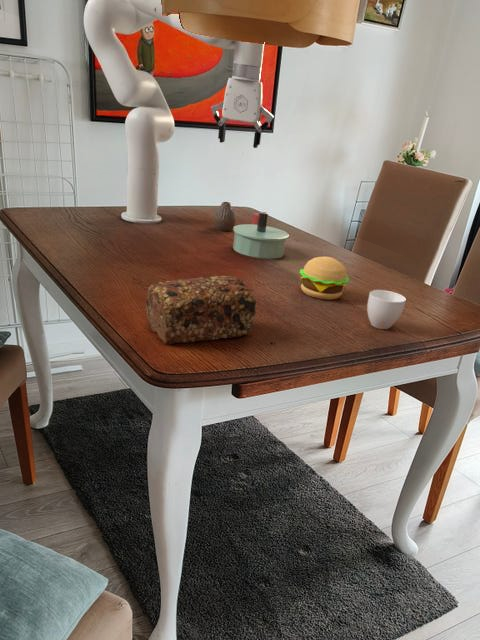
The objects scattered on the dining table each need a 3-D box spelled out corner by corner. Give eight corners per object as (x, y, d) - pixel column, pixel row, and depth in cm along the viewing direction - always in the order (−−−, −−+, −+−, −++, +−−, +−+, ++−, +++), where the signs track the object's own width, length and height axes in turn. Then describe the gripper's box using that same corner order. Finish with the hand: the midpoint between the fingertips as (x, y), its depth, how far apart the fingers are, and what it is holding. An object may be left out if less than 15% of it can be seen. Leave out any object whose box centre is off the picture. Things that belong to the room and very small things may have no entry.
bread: (229, 318, 120) (235, 270, 115) (254, 338, 112) (261, 288, 107) (143, 324, 111) (145, 273, 106) (163, 347, 103) (167, 292, 98)
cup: (374, 332, 123) (382, 302, 119) (351, 315, 130) (357, 286, 127) (404, 332, 125) (413, 302, 122) (380, 315, 133) (387, 286, 130)
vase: (211, 232, 182) (214, 203, 177) (213, 227, 188) (216, 198, 183) (233, 235, 182) (236, 206, 178) (234, 230, 188) (237, 201, 184)
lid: (239, 225, 173) (242, 203, 169) (291, 234, 171) (295, 212, 168) (227, 236, 159) (229, 212, 156) (283, 246, 157) (287, 222, 154)
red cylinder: (251, 234, 186) (254, 212, 182) (265, 237, 185) (268, 214, 182) (249, 237, 182) (252, 214, 178) (262, 240, 182) (266, 216, 178)
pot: (239, 243, 175) (241, 224, 172) (286, 251, 173) (289, 232, 170) (227, 254, 162) (230, 234, 159) (278, 263, 160) (282, 243, 158)
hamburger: (355, 300, 140) (363, 264, 136) (317, 304, 134) (324, 267, 130) (324, 284, 149) (331, 250, 144) (286, 287, 143) (292, 251, 138)
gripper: (211, 68, 152) (205, 141, 160) (275, 78, 150) (266, 150, 158) (218, 70, 158) (212, 139, 167) (280, 78, 156) (270, 148, 165)
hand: (238, 144), depth 163 cm, fingers open, 9 cm apart
